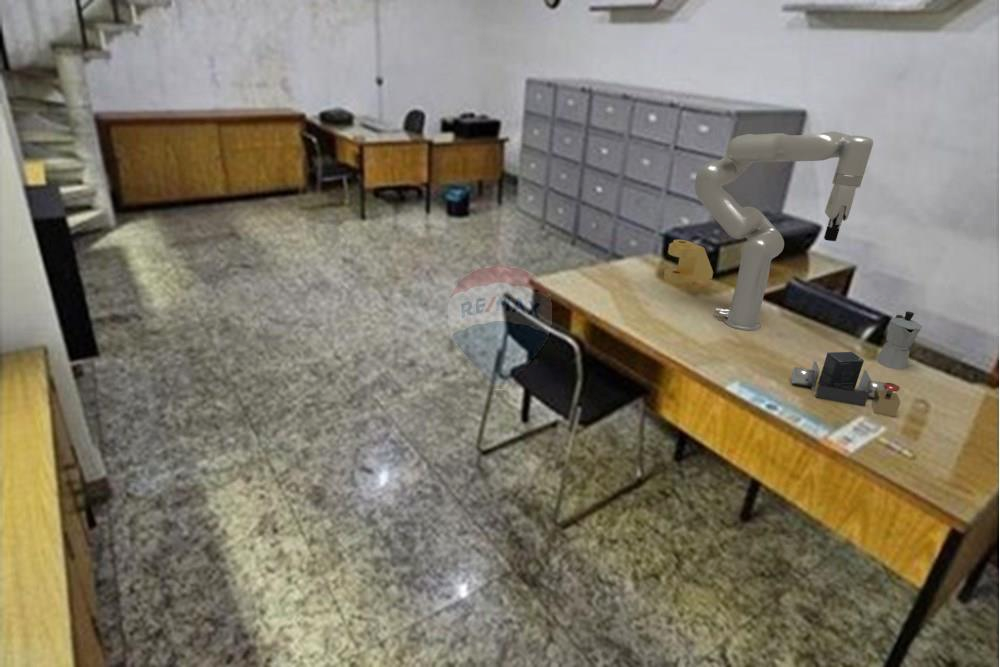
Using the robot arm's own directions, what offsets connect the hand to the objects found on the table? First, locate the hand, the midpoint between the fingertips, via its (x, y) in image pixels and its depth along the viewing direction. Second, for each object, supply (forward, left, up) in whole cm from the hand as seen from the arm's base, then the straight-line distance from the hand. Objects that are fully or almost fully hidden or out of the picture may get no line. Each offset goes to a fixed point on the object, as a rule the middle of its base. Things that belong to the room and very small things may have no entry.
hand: (829, 239), depth 195 cm
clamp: (-38, +47, -35) cm, 70 cm away
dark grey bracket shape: (+6, -31, -35) cm, 47 cm away
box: (+6, -30, -35) cm, 47 cm away
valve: (+17, -38, -35) cm, 55 cm away
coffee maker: (+26, -5, -35) cm, 44 cm away
